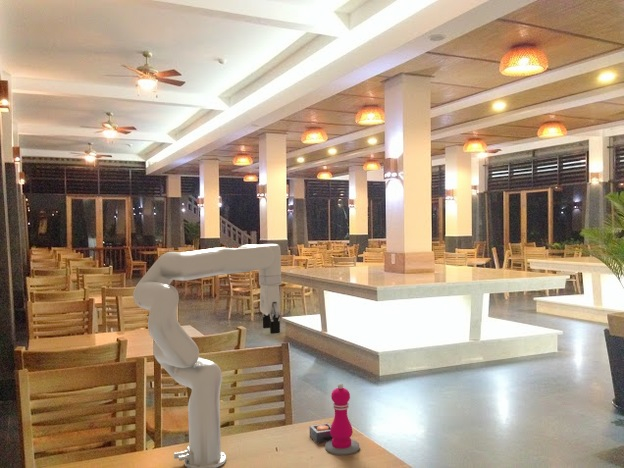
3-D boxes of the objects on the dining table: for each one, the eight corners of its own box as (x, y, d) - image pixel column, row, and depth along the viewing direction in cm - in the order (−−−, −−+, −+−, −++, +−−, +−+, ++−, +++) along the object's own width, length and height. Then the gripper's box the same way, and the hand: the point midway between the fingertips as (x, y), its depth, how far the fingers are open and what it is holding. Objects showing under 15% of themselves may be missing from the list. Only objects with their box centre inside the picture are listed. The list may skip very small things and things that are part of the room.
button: (319, 437, 188) (319, 430, 188) (315, 433, 192) (315, 426, 192) (330, 435, 190) (330, 428, 190) (326, 431, 194) (326, 424, 193)
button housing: (316, 443, 187) (316, 432, 186) (309, 435, 193) (309, 425, 193) (336, 440, 189) (336, 429, 189) (328, 432, 195) (328, 422, 195)
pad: (332, 457, 176) (332, 454, 176) (320, 444, 186) (320, 441, 186) (365, 451, 179) (365, 448, 179) (351, 439, 190) (351, 436, 190)
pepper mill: (353, 440, 186) (351, 380, 185) (352, 449, 179) (351, 386, 178) (331, 440, 187) (329, 380, 186) (329, 449, 179) (328, 386, 179)
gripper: (253, 278, 199) (254, 327, 199) (265, 283, 183) (267, 336, 183) (274, 277, 201) (275, 325, 202) (288, 282, 185) (289, 334, 186)
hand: (271, 330), depth 192 cm, fingers open, 9 cm apart
